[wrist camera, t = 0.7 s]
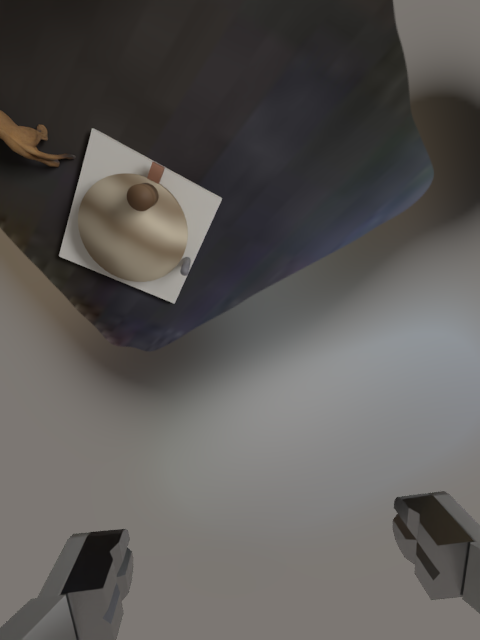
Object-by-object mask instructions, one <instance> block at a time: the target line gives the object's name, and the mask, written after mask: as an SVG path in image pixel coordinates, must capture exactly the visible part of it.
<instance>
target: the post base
mask: <svg viewBox="0 0 480 640" xmlns="http://www.w3.org/2000/svg"><path fill="white" fill-rule="evenodd" d="M152 162H155V161H153V160H151V159H149V158H147V157H146V156H144V155H142V154H140V153H138V152H136V151H135V150H133V149H131V148H129V147H127V146H125V145H124V144H122V143H120V142H118V141H116V140H114V139H113V138H111V137H109V136H107V135H105V134H103V133H102V132H100V131H98V130H96V129H93V128H92V131H91V135H90V139H89V142H88V146H87V150H86V154H85V158H84V162H83V165H82V169H81V173H80V177H79V181H78V185H77V188H76V192H75V196H74V200H73V204H72V207H71V211H70V215H69V219H68V223H67V227H66V230H65V234H64V238H63V242H62V246H61V250H60V253H59V257H62V258H64V259H67V260H69V261H71V262H74V263H76V264H79V265H81V266H84V267H86V268H88V269H91V270H93V271H96V272H98V273H101V274H103V275H106V276H108V277H110V278H113V279H115V280H118V281H120V282H123V283H125V284H128V285H130V286H132V287H135V288H137V289H140V290H142V291H145V292H147V293H149V294H152V295H154V296H157V297H159V298H162V299H164V300H167V301H169V302H171V303H174V304H175V301H176V299H177V297H178V295H179V293H180V290H181V288H182V286H183V284H184V282H185V279H186V277H187V275H188V273H189V271H190V268H191V266H192V264H193V262H194V260H195V257H196V255H197V253H198V251H199V249H200V246H201V244H202V242H203V240H204V238H205V235H206V233H207V231H208V229H209V227H210V224H211V222H212V220H213V218H214V216H215V213H216V211H217V209H218V207H219V205H220V202H221V200H222V198H221V197H219V196H217V195H215V194H214V193H212V192H210V191H208V190H206V189H204V188H203V187H201V186H199V185H197V184H195V183H193V182H192V181H190V180H188V179H186V178H184V177H182V176H180V175H179V174H177V173H175V172H173V171H171V170H169V169H168V168H166V167H165V169H164V172H163V175H162V178H161V180H160V184H161V185H163V186H164V187H165V188H166V189H168V190H169V191H170V192H171V193H172V194H173V196H174V197H175V198H176V200H177V201H178V203H179V204H180V206H181V208H182V210H183V212H184V215H185V218H186V221H187V227H188V240H187V245H186V249H185V252H184V255H183V257H182V259H181V260H180V262H179V263H178V265H177V266H176V267H175V268H174V269H173V270H172V271H171V272H169V273H168V274H167V275H165V276H163V277H161V278H159V279H156V280H152V281H147V282H134V281H128V280H124V279H121V278H118V277H116V276H114V275H112V274H110V273H109V272H107V271H105V270H104V269H103V268H102V267H100V266H99V265H98V264H97V263H96V262H95V261H94V260H93V258H92V257H91V256H90V255H89V253H88V252H87V250H86V248H85V246H84V244H83V242H82V239H81V237H80V233H79V228H78V212H79V207H80V204H81V201H82V199H83V197H84V195H85V194H86V192H87V191H88V190H89V189H90V188H91V187H92V186H93V185H94V184H95V183H96V182H98V181H99V180H101V179H103V178H105V177H107V176H111V175H114V174H123V173H129V174H138V175H142V176H146V177H147V176H148V173H149V170H150V168H151V165H152ZM155 163H157V162H155ZM157 164H158V163H157ZM159 165H160V164H159ZM161 166H162V165H161ZM163 167H164V166H163Z"/></svg>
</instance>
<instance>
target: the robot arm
mask: <svg viewBox="0 0 480 640" xmlns="http://www.w3.org/2000/svg"><path fill="white" fill-rule="evenodd" d="M394 509H395V510H396V511H397V513H398V514H397V515H396V517H395V518H394V519H393V532H394V536H395V540H396V542H397V544H398V547H399V549H400V550H401V552H402V554H403V555H404V557H405V558H407V559H408V560H409V561H411V562H412V563H413V564H415V575H416V576H417V578H418V579H419V581H420V583H421V584H422V586H423V587H424V589H425V591H426V592H427V594H428V595H429V597H430V599H431V600H436V599H445V598H455V597H463V598H462V599H463V600H464V601H465V602H467V603H468V604H469V605H470V606H471V607H473V608H474V609H475V610H476V611H477V612H479V613H480V525H479V524H478V523H477V522H476V521H475V520H474V519H473V518H472V517H471V516H470V515H469V514H468V513H467V512H466V511H465V510H464V509H463V508H462V507H461V506H460V505H459V504H458V503H457V502H456V501H455V499H454V498H453V497H452V496H451V495H450V494H448V493H446V492H445V491H442V492H434V493H428V494H426V493H425V494H417V495H409V496H402V497H397V498H396V499H395V501H394ZM128 543H129V534H128V530H126V529H121V530H109V531H98V532H90V533H79V534H73V535H72V536H71V537H70V538H69V539H68V540H67V542H66V544H65V546H64V548H63V550H62V552H61V554H60V555H59V558H58V559H57V561H56V563H55V565H54V567H53V569H52V571H51V573H50V574H49V576H48V578H47V580H46V582H45V584H44V586H43V588H42V590H41V592H40V594H39V596H38V597H37V598H35V599H31V600H30V601H28V602H27V604H25V605H24V606H23V607H22V608H21V609H20V610H19V611H18V612H17V613H16V614H15V615H14V616H12V617H11V618H10V619H9V620H8V621H7V622H6V623H5V624H4V625H3V626H2V627H1V628H0V640H116V638H117V635H118V631H119V627H120V623H121V620H122V616H123V608H122V600H123V599H124V598H125V597H126V595H127V594H128V593H129V589H130V585H131V580H132V572H133V556H132V551H131V550H130V549H128V548H127V546H128Z"/></svg>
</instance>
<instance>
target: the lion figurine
mask: <svg viewBox="0 0 480 640" xmlns="http://www.w3.org/2000/svg"><path fill="white" fill-rule="evenodd" d="M47 134H48V132H47V129H46V127H45V126H44V125H38V126H37V129H36V130H35V129H33V128H30V127H24V126H17V125H16V124H15V123H14V122H13V121H12V120H11V119H10V118H9V116H8V115H6V114H5V113H4V112H2V111H1V110H0V138H1V139H2V140H3V141H4V142H5V143H6V144H7V145H8V146H9V147H10V148H11V149H12V150H13V151H14V152H16V153H18V154H20V155H22V156H24V157H26V158H28V159H33V160H37V161H40V162H42V163H45V164H47V165H48V166H54V167H59V164H60V163H59V161H58V160H57V159H64V158H67V159H75V156H74V155H71V154H61V155H51V154H46V153H43V152H40V151H38V149H37V148H36V146H37V145H38V143H39V142H40V140H45V141H47V140H48V138H47Z"/></svg>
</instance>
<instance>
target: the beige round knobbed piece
mask: <svg viewBox="0 0 480 640" xmlns="http://www.w3.org/2000/svg"><path fill="white" fill-rule="evenodd" d="M164 169H165V167H163V166H161V165H159V164H157V163H155V162H152V165H151V168H150V170H149V173H148V176H147V177H146V176H142V175H138V174H129V173H123V174H114V175H111V176H107V177H105V178H103V179H101V180H99V181H98V182H96V183H95V184H94V185H93V186H92V187H91V188H90V189H89V190H88V191H87V192H86V194H85V195H84V197H83V199H82V201H81V204H80V207H79V212H78V228H79V233H80V237H81V239H82V242H83V244H84V246H85V248H86V250H87V252H88V253H89V255H90V256H91V257H92V258H93V260H94V261H95V262H96V263H97V264H98V265H99V266H100V267H102V268H103V269H104V270H105V271H107V272H109V273H110V274H112V275H114V276H116V277H118V278H121V279H124V280H128V281H134V282H147V281H152V280H156V279H159V278H161V277H163V276H165V275H167V274H168V273H169V272H171V271H172V270H173V269H174V268H175V267H176V266H177V265H178V263H179V262H180V260H181V259H182V257H183V255H184V252H185V249H186V245H187V240H188V227H187V221H186V218H185V215H184V212H183V210H182V208H181V206H180V204H179V203H178V201H177V200H176V198H175V197H174V196H173V194H172V193H171V192H170V191H169V190H168V189H166V188H165V187H164V186H163V185H161V184H160V180H161V178H162V175H163V172H164Z"/></svg>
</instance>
